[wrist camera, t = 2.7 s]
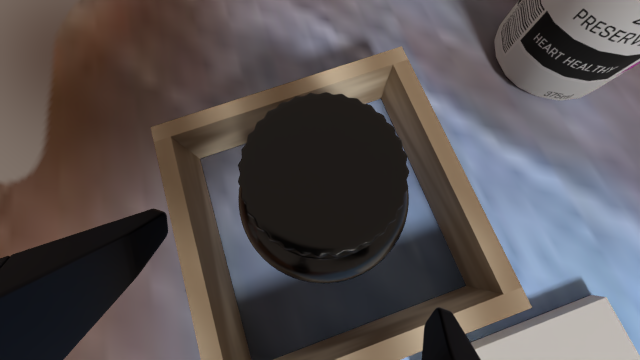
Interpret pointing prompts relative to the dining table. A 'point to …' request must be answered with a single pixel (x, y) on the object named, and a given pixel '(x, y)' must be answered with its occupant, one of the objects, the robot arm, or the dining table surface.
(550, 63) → the supplement can
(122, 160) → the dining table surface
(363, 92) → the crate
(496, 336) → the mat
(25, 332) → the robot arm
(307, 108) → the supplement bottle
